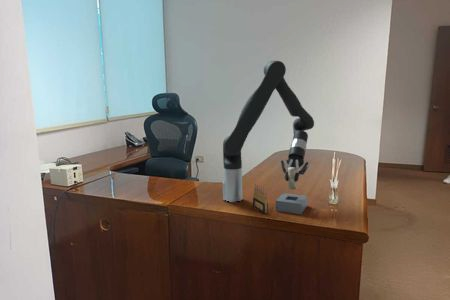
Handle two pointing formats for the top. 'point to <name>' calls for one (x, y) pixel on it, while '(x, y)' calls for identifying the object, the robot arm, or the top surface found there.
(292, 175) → the peg
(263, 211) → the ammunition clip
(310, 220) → the top surface
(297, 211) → the socket block
